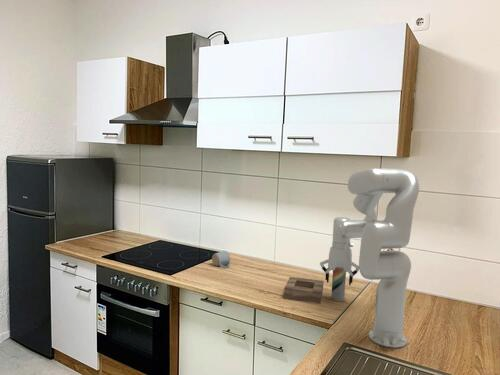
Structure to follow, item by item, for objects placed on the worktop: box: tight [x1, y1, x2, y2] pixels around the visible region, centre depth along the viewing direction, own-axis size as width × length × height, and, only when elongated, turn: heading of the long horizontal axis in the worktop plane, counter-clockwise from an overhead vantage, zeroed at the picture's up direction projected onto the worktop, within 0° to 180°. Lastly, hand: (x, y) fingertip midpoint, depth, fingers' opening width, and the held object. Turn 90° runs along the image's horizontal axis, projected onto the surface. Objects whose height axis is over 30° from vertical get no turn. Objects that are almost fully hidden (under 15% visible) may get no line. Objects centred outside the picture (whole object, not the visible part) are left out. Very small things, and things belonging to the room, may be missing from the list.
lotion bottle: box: [330, 267, 347, 302], centre depth 170 cm, size 6×6×20 cm
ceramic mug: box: [211, 250, 231, 269], centre depth 214 cm, size 11×8×8 cm
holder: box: [283, 276, 325, 304], centre depth 174 cm, size 16×16×5 cm
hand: (338, 283), depth 170 cm, fingers open, 9 cm apart
